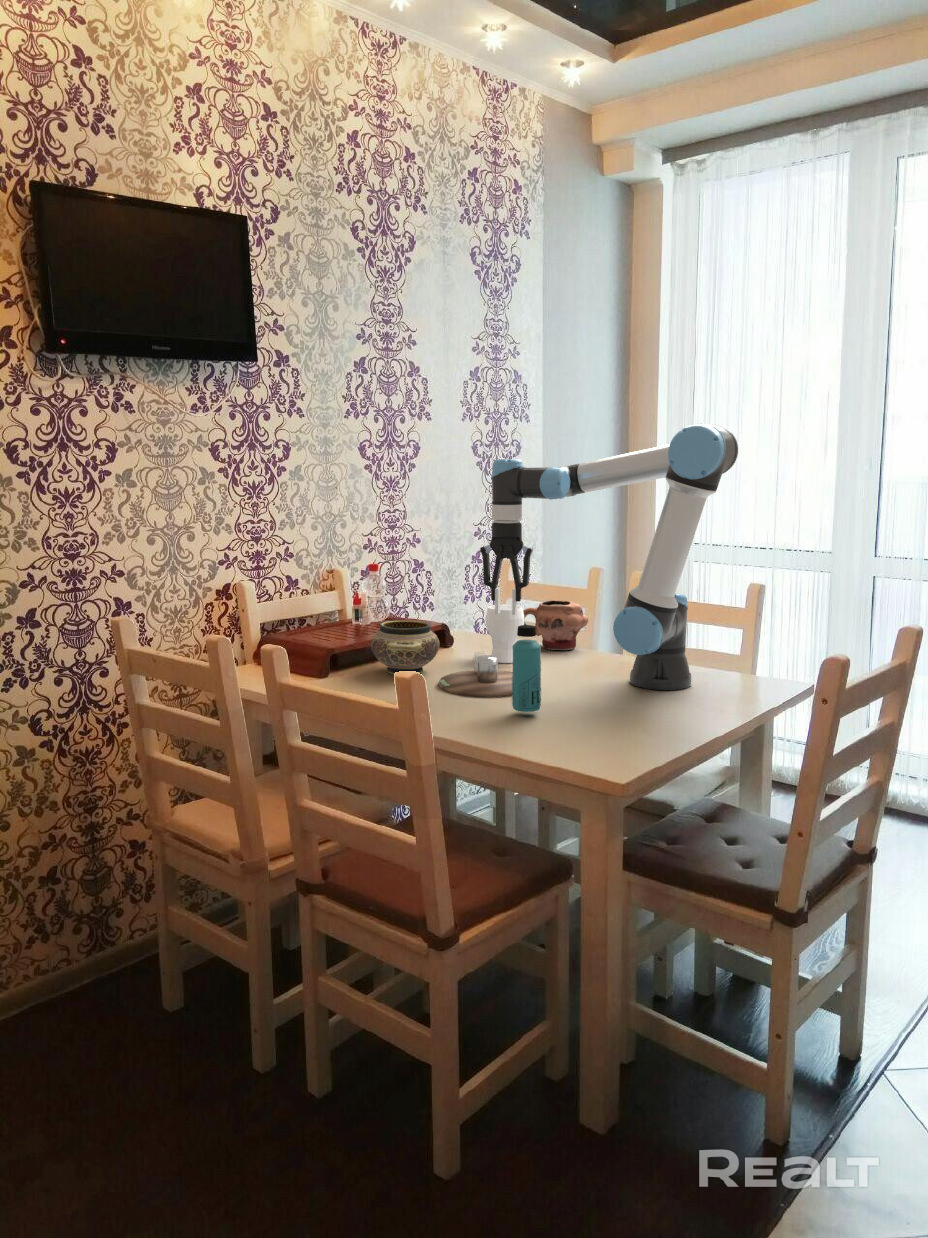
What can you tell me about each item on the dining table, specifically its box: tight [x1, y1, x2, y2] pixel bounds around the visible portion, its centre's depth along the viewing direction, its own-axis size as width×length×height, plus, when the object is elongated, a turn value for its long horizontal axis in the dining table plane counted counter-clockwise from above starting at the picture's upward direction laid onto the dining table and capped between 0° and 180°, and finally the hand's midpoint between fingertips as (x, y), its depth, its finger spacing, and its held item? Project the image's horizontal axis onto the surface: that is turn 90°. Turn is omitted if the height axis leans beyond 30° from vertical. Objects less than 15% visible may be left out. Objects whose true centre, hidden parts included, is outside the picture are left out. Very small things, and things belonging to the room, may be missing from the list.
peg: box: [473, 651, 499, 683], centre depth 236 cm, size 15×5×6 cm, turn 11°
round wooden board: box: [438, 669, 513, 698], centre depth 232 cm, size 24×24×1 cm
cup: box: [485, 603, 525, 664], centre depth 258 cm, size 11×11×15 cm
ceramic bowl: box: [370, 619, 441, 675], centre depth 245 cm, size 24×18×15 cm
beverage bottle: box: [511, 624, 542, 713], centre depth 204 cm, size 6×7×20 cm
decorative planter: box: [523, 600, 589, 651], centre depth 275 cm, size 20×12×14 cm, turn 86°
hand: (506, 613), depth 237 cm, fingers open, 4 cm apart
